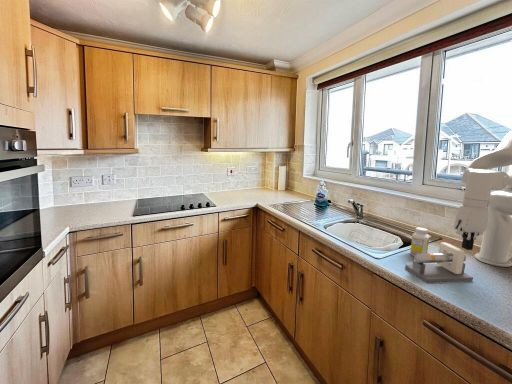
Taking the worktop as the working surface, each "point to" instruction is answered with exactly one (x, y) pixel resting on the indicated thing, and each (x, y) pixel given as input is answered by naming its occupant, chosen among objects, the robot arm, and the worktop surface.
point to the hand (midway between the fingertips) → (466, 248)
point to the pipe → (432, 260)
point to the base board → (439, 274)
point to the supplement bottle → (419, 241)
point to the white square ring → (457, 257)
